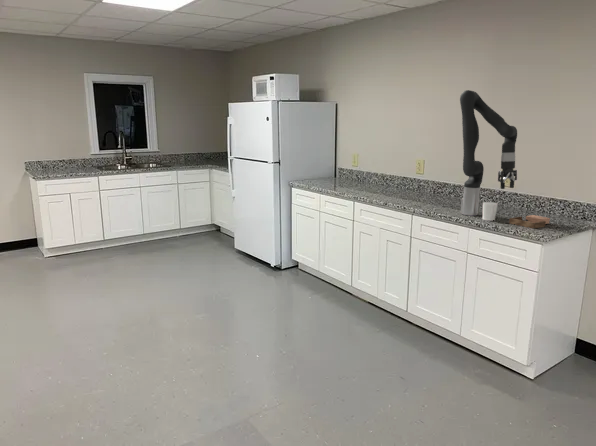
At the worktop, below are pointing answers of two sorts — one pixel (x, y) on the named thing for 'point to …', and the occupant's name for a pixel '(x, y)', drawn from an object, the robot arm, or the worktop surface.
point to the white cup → (489, 211)
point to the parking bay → (526, 223)
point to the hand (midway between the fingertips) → (507, 188)
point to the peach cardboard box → (537, 219)
